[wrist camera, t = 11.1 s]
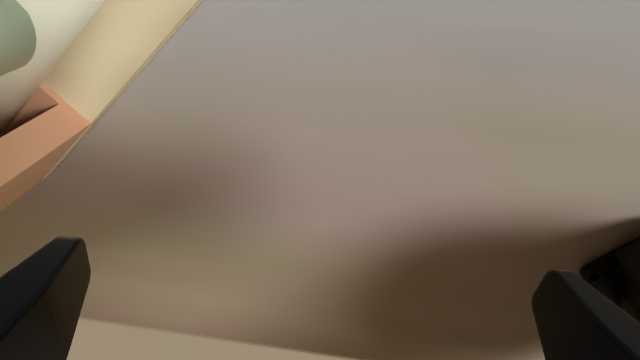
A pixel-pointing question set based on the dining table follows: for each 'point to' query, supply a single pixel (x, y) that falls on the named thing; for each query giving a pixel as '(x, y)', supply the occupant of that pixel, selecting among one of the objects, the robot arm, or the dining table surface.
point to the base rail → (113, 53)
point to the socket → (36, 142)
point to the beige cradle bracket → (35, 46)
